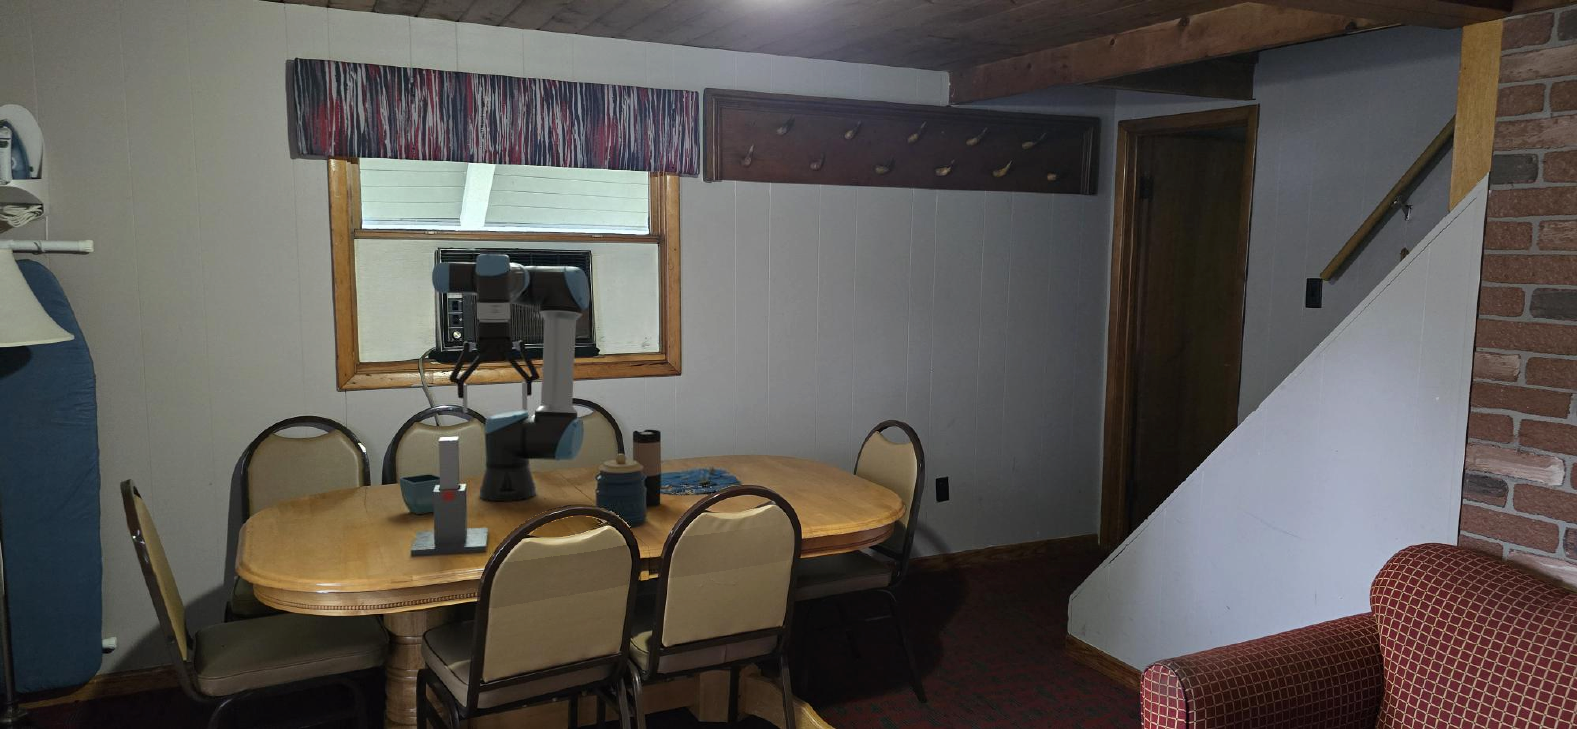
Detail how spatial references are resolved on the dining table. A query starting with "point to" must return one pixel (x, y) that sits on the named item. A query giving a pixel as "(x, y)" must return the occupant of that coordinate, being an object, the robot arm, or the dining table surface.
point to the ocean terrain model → (697, 480)
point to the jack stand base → (450, 527)
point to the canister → (622, 490)
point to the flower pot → (419, 492)
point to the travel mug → (649, 462)
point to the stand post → (449, 463)
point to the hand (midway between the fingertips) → (495, 410)
